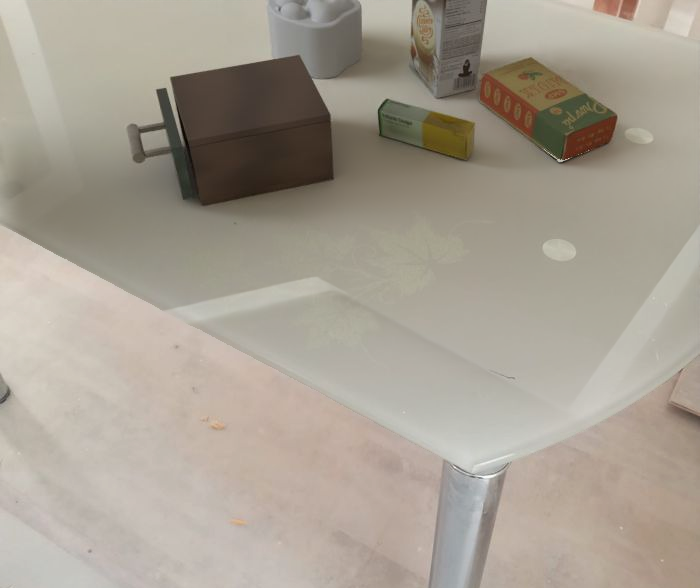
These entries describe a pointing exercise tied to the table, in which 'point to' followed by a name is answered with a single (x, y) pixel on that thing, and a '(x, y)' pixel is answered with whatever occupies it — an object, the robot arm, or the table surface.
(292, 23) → the lumpy-topped squat cylinder
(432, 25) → the coffee box
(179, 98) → the cabinet
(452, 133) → the medication box
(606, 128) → the carton
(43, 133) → the table surface
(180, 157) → the drawer
